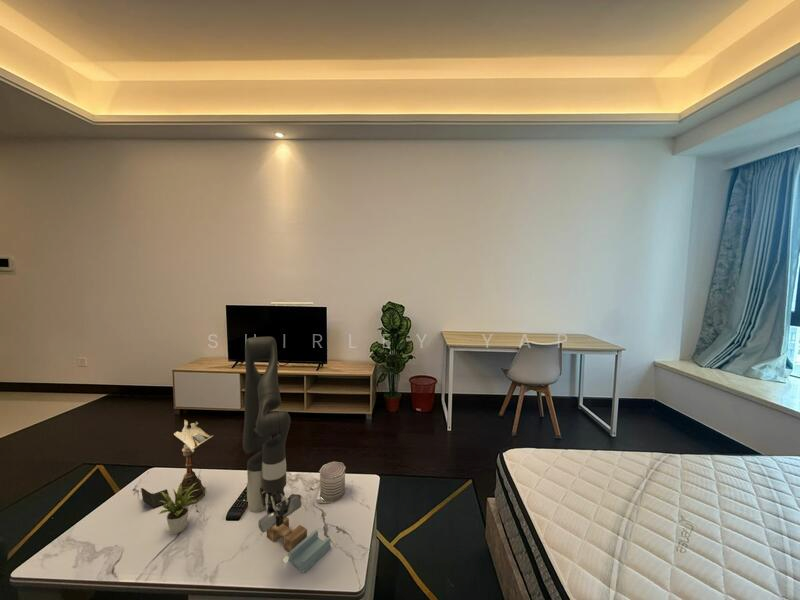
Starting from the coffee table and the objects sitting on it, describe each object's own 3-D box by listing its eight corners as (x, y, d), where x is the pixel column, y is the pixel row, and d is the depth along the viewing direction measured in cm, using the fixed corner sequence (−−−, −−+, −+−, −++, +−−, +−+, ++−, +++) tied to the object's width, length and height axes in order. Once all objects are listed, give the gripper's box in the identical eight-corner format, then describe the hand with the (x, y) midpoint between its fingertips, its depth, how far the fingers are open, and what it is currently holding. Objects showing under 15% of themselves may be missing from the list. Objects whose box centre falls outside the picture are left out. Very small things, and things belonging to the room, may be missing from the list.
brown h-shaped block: (266, 537, 122) (266, 523, 121) (282, 525, 128) (282, 511, 127) (291, 554, 114) (291, 539, 114) (307, 541, 120) (306, 526, 120)
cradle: (288, 561, 111) (288, 551, 111) (315, 538, 121) (315, 529, 121) (304, 572, 107) (304, 562, 107) (330, 547, 117) (330, 538, 117)
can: (349, 496, 145) (349, 470, 144) (325, 506, 139) (325, 479, 138) (339, 483, 155) (339, 458, 154) (315, 491, 148) (315, 466, 147)
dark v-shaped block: (176, 496, 142) (157, 485, 138) (161, 513, 138) (141, 502, 133) (167, 489, 149) (149, 478, 145) (153, 505, 145) (134, 495, 140)
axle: (265, 534, 104) (265, 522, 103) (258, 529, 106) (258, 517, 106) (301, 509, 115) (301, 498, 115) (294, 505, 117) (294, 494, 117)
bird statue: (223, 490, 149) (221, 415, 147) (200, 510, 136) (197, 428, 134) (193, 485, 153) (191, 411, 151) (168, 503, 140) (165, 423, 138)
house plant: (207, 529, 126) (205, 488, 125) (163, 550, 115) (161, 506, 114) (195, 511, 135) (194, 473, 134) (154, 529, 125) (153, 488, 124)
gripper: (297, 473, 107) (298, 524, 108) (271, 460, 115) (272, 507, 116) (277, 485, 101) (278, 539, 102) (251, 470, 109) (252, 520, 110)
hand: (275, 521), depth 109 cm, fingers closed on axle, 4 cm apart
